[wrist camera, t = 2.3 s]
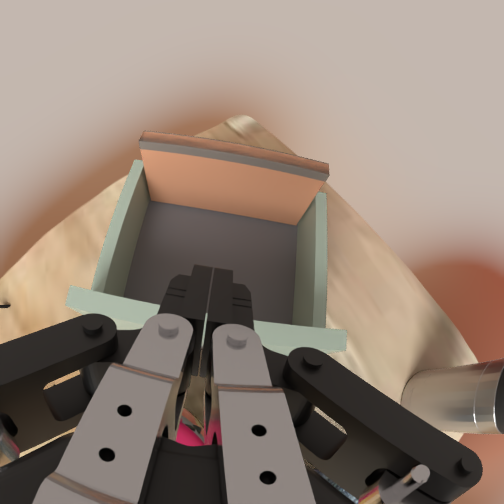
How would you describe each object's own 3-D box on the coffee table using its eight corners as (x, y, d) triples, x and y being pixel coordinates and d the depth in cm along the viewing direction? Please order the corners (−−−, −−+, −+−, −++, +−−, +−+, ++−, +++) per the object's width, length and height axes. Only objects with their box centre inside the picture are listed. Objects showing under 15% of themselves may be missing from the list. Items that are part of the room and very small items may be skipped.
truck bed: (284, 359, 34) (346, 350, 19) (120, 333, 31) (65, 305, 17) (292, 240, 40) (342, 170, 25) (149, 216, 38) (128, 132, 23)
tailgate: (295, 226, 34) (329, 175, 24) (151, 201, 32) (138, 141, 22) (296, 216, 34) (328, 163, 25) (154, 191, 32) (143, 130, 23)
